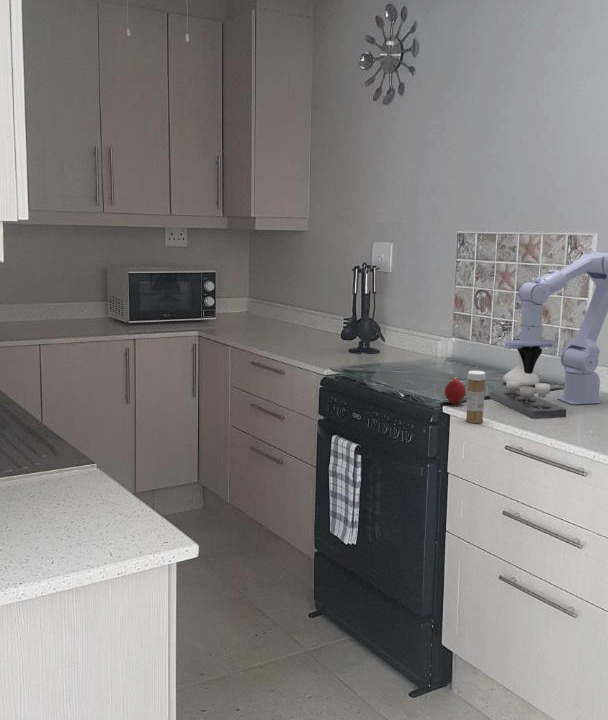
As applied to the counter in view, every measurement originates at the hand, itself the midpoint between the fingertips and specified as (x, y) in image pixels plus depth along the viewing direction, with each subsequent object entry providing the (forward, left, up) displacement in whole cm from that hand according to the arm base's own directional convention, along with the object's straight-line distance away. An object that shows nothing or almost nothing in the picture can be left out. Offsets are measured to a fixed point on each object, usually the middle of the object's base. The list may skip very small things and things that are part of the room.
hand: (528, 373), depth 236 cm
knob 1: (0, -8, -8) cm, 11 cm away
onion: (+19, -7, -10) cm, 23 cm away
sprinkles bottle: (+22, +12, -10) cm, 27 cm away
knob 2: (0, +8, -5) cm, 9 cm away
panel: (0, 0, -10) cm, 10 cm away
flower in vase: (-14, -27, -10) cm, 32 cm away
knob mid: (0, 0, -8) cm, 8 cm away
